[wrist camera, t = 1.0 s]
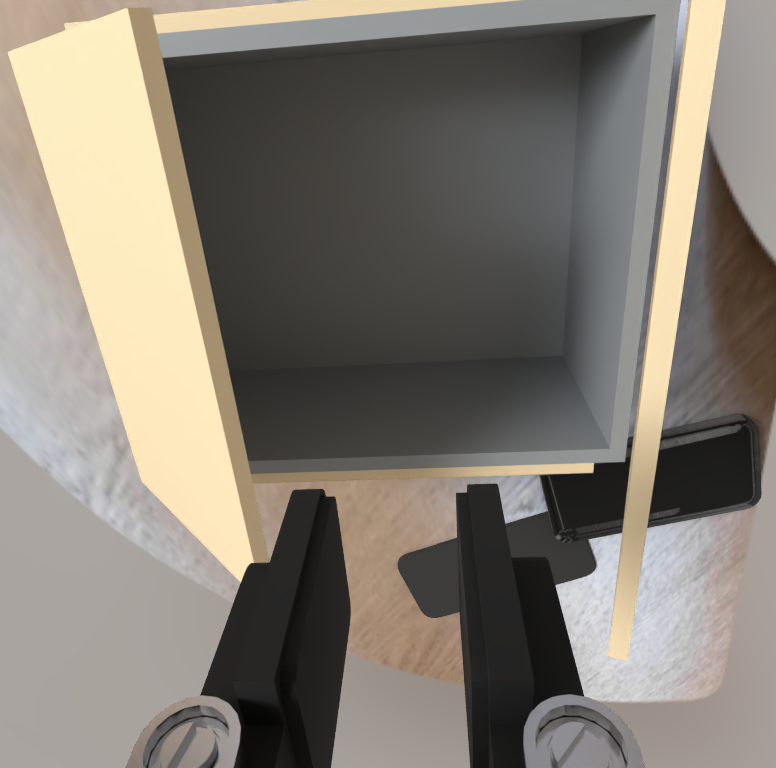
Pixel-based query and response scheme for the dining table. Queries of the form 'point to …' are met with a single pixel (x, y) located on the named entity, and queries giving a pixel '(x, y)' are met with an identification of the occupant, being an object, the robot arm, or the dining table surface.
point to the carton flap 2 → (666, 297)
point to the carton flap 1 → (143, 268)
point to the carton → (425, 225)
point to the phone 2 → (663, 481)
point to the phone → (526, 539)
